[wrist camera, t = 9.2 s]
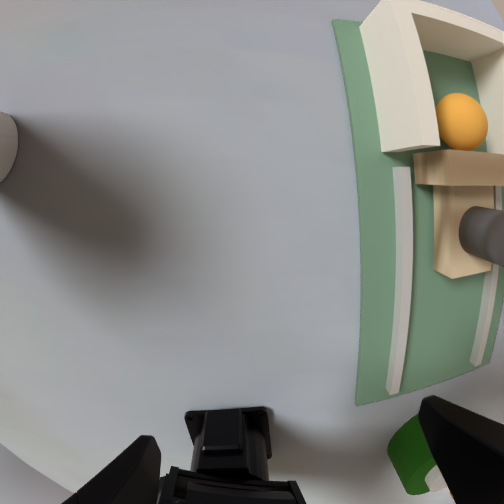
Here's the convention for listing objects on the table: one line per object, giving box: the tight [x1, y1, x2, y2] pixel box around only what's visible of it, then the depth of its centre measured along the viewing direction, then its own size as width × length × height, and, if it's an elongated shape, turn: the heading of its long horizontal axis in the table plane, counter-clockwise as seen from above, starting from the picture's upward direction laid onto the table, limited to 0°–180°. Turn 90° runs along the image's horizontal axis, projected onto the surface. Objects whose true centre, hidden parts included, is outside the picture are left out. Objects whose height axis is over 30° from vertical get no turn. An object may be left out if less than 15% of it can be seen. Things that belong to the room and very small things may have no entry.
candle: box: [387, 415, 453, 498], centre depth 19 cm, size 8×8×10 cm
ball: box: [435, 93, 488, 151], centre depth 15 cm, size 4×4×4 cm
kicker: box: [413, 150, 504, 279], centre depth 14 cm, size 8×7×8 cm
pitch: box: [332, 0, 504, 406], centre depth 17 cm, size 29×15×5 cm, turn 6°
